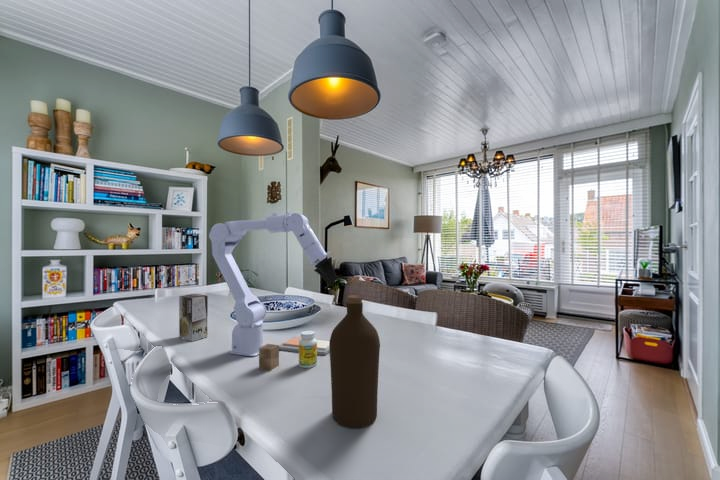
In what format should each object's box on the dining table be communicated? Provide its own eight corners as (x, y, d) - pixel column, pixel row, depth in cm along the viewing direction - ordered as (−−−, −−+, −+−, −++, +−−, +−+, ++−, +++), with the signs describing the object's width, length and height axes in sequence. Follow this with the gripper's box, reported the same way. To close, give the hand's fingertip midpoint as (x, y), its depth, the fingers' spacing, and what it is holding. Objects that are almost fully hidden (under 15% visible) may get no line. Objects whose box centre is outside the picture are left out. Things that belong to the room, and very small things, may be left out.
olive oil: (355, 438, 57) (355, 303, 57) (318, 416, 64) (319, 296, 64) (390, 414, 65) (390, 296, 65) (354, 397, 72) (354, 290, 72)
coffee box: (208, 337, 118) (208, 295, 118) (191, 341, 112) (191, 297, 112) (195, 333, 122) (195, 293, 123) (178, 337, 117) (178, 295, 117)
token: (259, 369, 88) (259, 348, 88) (267, 363, 92) (267, 343, 92) (271, 370, 87) (271, 349, 87) (278, 365, 91) (278, 345, 91)
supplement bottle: (312, 360, 95) (312, 329, 95) (320, 365, 90) (320, 333, 91) (295, 363, 92) (296, 331, 92) (303, 370, 87) (303, 336, 88)
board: (277, 349, 104) (277, 344, 104) (293, 339, 115) (293, 335, 115) (325, 355, 99) (325, 350, 99) (338, 344, 109) (338, 340, 109)
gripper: (323, 235, 93) (347, 273, 92) (321, 244, 107) (341, 278, 106) (303, 246, 91) (326, 285, 90) (303, 254, 105) (323, 288, 104)
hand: (333, 282), depth 98 cm, fingers open, 7 cm apart
